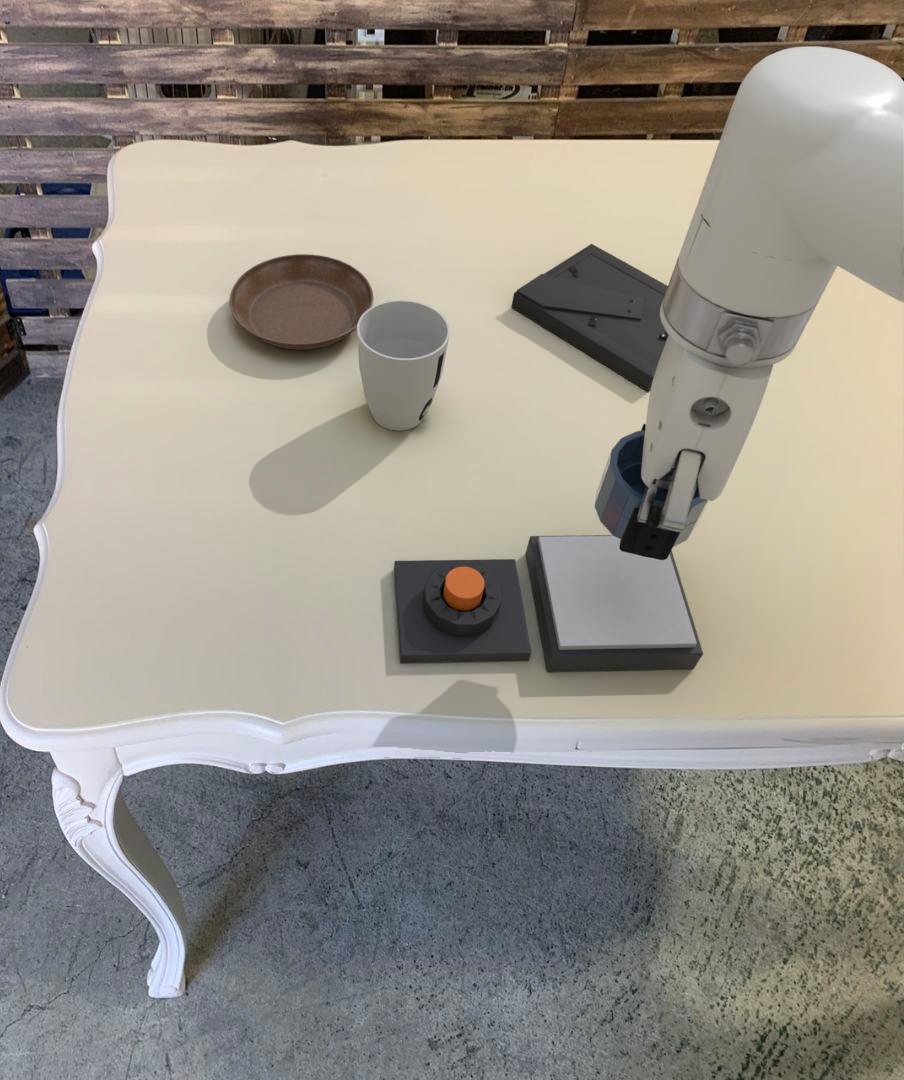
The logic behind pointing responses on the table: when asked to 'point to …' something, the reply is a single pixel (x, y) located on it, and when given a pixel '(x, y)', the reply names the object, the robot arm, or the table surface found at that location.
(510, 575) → the panel
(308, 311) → the saucer
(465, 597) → the button
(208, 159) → the table surface
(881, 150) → the robot arm
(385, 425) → the cup
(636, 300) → the picture frame
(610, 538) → the scale
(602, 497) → the blue round container
